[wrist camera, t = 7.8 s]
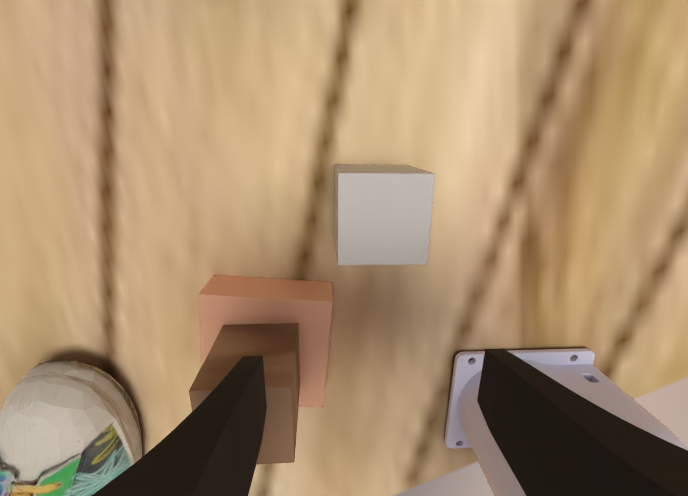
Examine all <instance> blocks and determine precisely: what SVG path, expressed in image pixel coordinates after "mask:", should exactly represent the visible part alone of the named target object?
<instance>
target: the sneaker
mask: <svg viewBox="0 0 688 496" xmlns="http://www.w3.org/2000/svg"><path fill="white" fill-rule="evenodd" d="M141 437H142V434H141V430H140V426H139V421H138V416H137V413H136V410H135V408H134V406H133V403H132V401H131V398H130V397H129V396H128V394H127V393H126V391H125V390H124V388H123V387H122V386H121V385H120V384H119V383H118V382H117V381H116V380H115V379H114V378H113V377H112V376H111V375H110V374H108V373H106V372H104V371H102V370H101V369H99V368H97V367H95V366H92V365H88V364H85V363H81V362H78V361H74V360H68V361H57V362H47V363H40V364H38V365H37V366H36V367H34V368H33V369H31V370H30V371H29V372H28V373H27V374H26V375H24V376H23V377H22V378H21V379H20V380H19V382H18V383H17V385H16V386H15V387H14V389H13V390H12V391H11V393H10V394H9V395H8V397H7V398H6V400H5V403H4V405H3V407H2V410H1V412H0V496H91V495H93V494H94V493H95V492H97V491H98V490H100V489H101V488H102V487H104V486H105V485H106V484H108V483H109V482H110V481H112V480H113V479H114V478H116V477H117V476H118V475H120V474H121V473H122V472H124V471H125V470H126V469H128V468H129V467H130V466H132V465H133V464H134V463H136V462H137V461H138V460H139V459H141V458H142V442H141Z"/></svg>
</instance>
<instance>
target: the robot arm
mask: <svg viewBox="0 0 688 496" xmlns="http://www.w3.org/2000/svg"><path fill="white" fill-rule="evenodd" d="M572 355H573V356H572ZM571 356H572V357H571ZM470 358H473V359H472V360H470V361H468V360H469V359H470ZM594 358H595V354H594V352H593V351H591V350H590V349H588V348H577V349H542V350H504V349H485V351H471V352H460V353H458V354H457V355H456V357H455V362H454V369H453V377H452V385H451V393H450V400H449V408H448V416H447V424H446V431H445V439H444V441H445V444H446V446H447V447H448V448H452V449H454V448H472V449H473V451H474V454H475V456H476V458H477V460H478V462H479V464H480V466H481V468H482V470H483V472H484V474H485V476H486V478H487V480H488V483H489V485H490V487H491V489H492V491H493V493H494V495H495V496H688V450H687V448H686V447H685V445H684V444H683V443H682V442H681V441H680V440H679V438H678V437H677V436H676V435H675V434H674V433H672V431H670V430H669V429H668V428H667V427H666V426H665V425H664V424H662V423H661V422H660V421H659V420H658V419H656V418H655V417H654V416H653V415H652V414H651V413H649V412H648V411H647V410H646V409H645V408H643V407H642V406H641V405H640V404H638V403H637V402H636V401H635V400H634V399H633V398H632V397H630V396H629V395H628V394H627V393H626V392H624V391H623V390H622V389H621V388H620V387H618V386H617V385H616V384H615V383H614V382H612V381H611V380H610V379H609V378H608V377H607V376H605V375H604V374H603V373H602V372H601V371H599V370H598V369H597V368H596V367H595V366H593V362H594ZM266 411H267V404H266V391H265V378H264V365H263V356H243V357H242V358H241V359H240V360H239V361H238V362H237V363H236V365H235V366H234V367H233V368H232V369H231V370H230V372H229V373H228V374H227V375H226V376H225V377H224V378H223V380H222V381H221V382H220V383H219V384H218V385H217V386H216V387H215V388H214V390H213V391H212V392H211V393H210V394H209V395H208V396H207V397H206V398H205V399H204V400H203V401H202V402H201V404H200V405H199V406H198V407H197V408H196V409H195V410H194V411H193V412H192V413H191V414H190V415H189V416H188V417H186V418H185V419H184V420H183V421H182V422H181V423H180V424H179V425H178V426H177V427H176V428H175V429H174V430H173V431H172V432H171V433H170V434H169V435H168V436H167V437H165V438H164V439H163V440H162V441H161V442H160V443H159V444H157V445H156V446H155V447H154V448H153V449H152V450H150V451H149V452H148V453H147V454H146V455H144V456H143V457H142V458H141V459H139V460H138V461H137V462H136V463H134V464H133V465H132V466H130V467H129V468H128V469H126V470H125V471H124V472H122V473H121V474H120V475H118V476H117V477H116V478H114V479H113V480H112V481H110V482H109V483H108V484H106V485H105V486H104V487H102V488H101V489H100V490H98V491H97V492H95V493H94V494H93V495H91V496H248V493H249V489H250V486H251V482H252V478H253V474H254V470H255V467H256V463H257V459H258V455H259V451H260V447H261V443H262V438H263V432H264V425H265V418H266Z"/></svg>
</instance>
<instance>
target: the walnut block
mask: <svg viewBox="0 0 688 496" xmlns="http://www.w3.org/2000/svg"><path fill="white" fill-rule="evenodd" d="M243 356H263V365H264V378H265V391H266V404H267V411H266V418H265V425H264V432H263V438H262V443H261V447H260V451H259V455H258V459H257V463H256V464H272V463H291V462H294V458H295V445H296V432H297V419H298V406H299V393H300V361H299V325H298V323H281V324H235V325H223V326H222V328H221V330H220V332H219V334H218V336H217V338H216V340H215V342H214V344H213V346H212V348H211V350H210V351H209V353H208V355H207V357H206V359H205V361H204V363H203V365H202V367H201V369H200V371H199V373H198V375H197V377H196V379H195V381H194V382H193V384H192V386H191V388H190V390H189V393H190V400H191V406H192V412H193V411H194V410H195V409H196V408H197V407H198V406H199V405H200V404H201V402H202V401H203V400H204V399H205V398H206V397H207V396H208V395H209V394H210V393H211V392H212V391H213V390H214V388H215V387H216V386H217V385H218V384H219V383H220V382H221V381H222V380H223V378H224V377H225V376H226V375H227V374H228V373H229V372H230V370H231V369H232V368H233V367H234V366H235V365H236V363H237V362H238V361H239V360H240V359H241V358H242V357H243Z"/></svg>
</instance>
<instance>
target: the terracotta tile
mask: <svg viewBox="0 0 688 496" xmlns="http://www.w3.org/2000/svg"><path fill="white" fill-rule="evenodd" d="M198 295H199V318H200V341H201V363H202V365H203V363H204V361H205V359H206V357H207V355H208V353H209V351H210V350H211V348H212V346H213V344H214V342H215V340H216V338H217V336H218V334H219V332H220V330H221V328H222V326H223V325H235V324H281V323H298V325H299V361H300V393H299V406H310V407H324V396H325V384H326V373H327V362H328V351H329V340H330V329H331V318H332V307H333V295H332V282H321V281H305V280H288V279H272V278H255V277H239V276H222V275H213V277H212V278H211V279H210V281H209V282H208V283H207V284H206V286H205V287H204V288H203V289H202V291H201V292H200V293H199V294H198Z"/></svg>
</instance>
